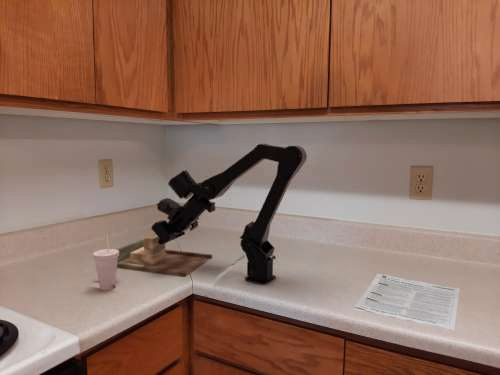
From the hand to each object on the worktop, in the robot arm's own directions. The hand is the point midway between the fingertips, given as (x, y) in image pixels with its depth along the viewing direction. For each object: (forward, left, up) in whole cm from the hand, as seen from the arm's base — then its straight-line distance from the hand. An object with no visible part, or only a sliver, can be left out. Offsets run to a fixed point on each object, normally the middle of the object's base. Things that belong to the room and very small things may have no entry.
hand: (159, 243), depth 112 cm
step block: (+4, +1, -6) cm, 7 cm away
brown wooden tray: (0, 0, -7) cm, 7 cm away
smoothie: (-1, +20, -8) cm, 21 cm away
